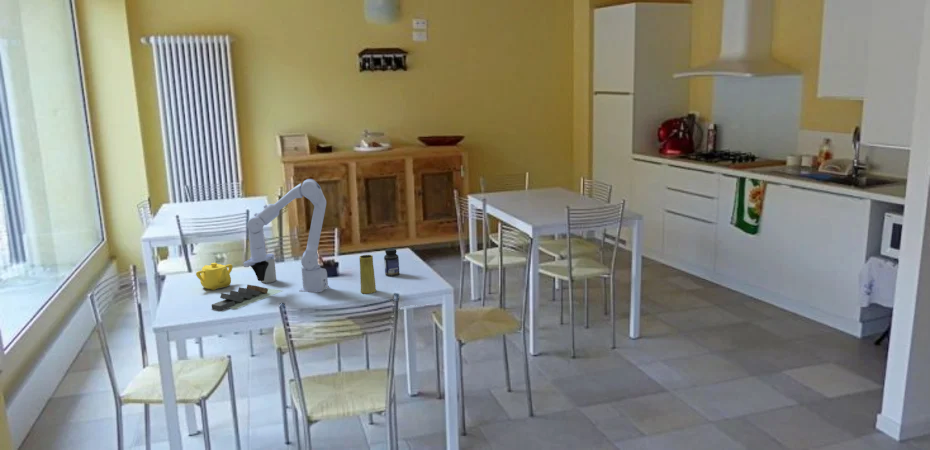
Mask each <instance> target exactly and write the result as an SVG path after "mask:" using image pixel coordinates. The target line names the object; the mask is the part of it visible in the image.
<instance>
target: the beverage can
mask: <svg viewBox="0 0 930 450" xmlns="http://www.w3.org/2000/svg"><path fill="white" fill-rule="evenodd" d="M267 254H274V253H272V252H266V255H267ZM275 260H276V259H275V258H274V259H270V260H267V261H266V262H268V263H269V265H268V267H267V269H266V272H265V278H264V281H260V283H263V284H271V283H274V282H276V281H277V272H276V261H275Z"/></svg>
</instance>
